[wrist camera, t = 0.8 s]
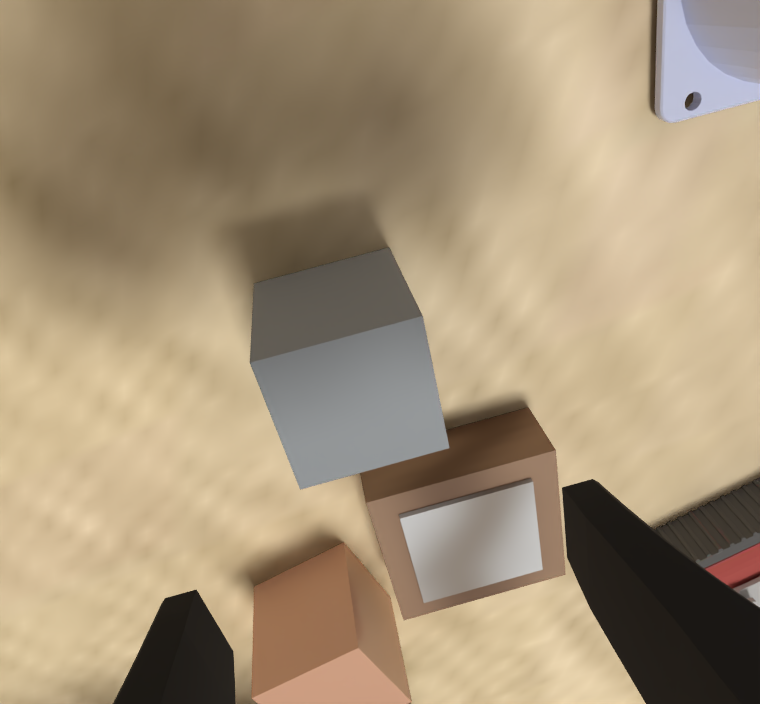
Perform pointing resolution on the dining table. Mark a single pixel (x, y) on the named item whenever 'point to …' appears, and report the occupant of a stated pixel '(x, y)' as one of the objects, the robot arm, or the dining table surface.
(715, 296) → the dining table surface
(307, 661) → the terracotta cube
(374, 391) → the slate cube
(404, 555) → the walnut block
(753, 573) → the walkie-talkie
